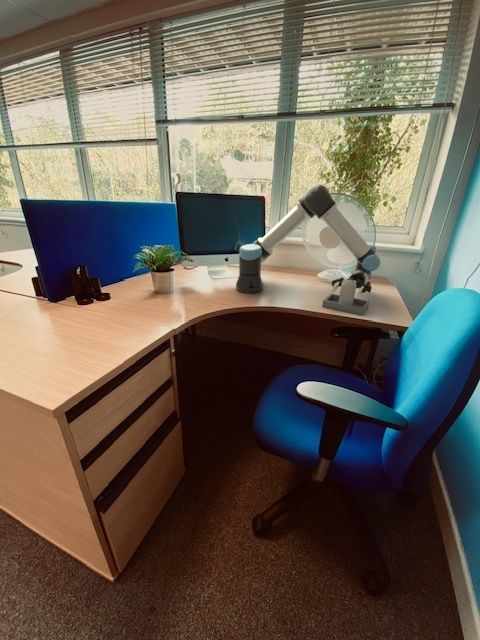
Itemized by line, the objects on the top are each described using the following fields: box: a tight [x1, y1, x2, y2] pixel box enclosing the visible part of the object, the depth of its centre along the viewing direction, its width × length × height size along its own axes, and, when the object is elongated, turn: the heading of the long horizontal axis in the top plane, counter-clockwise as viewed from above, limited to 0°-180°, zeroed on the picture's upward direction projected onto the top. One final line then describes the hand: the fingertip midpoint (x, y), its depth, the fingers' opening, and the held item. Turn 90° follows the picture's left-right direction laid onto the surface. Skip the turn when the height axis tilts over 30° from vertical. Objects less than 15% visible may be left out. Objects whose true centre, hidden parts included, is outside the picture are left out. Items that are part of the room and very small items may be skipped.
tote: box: [321, 293, 370, 317], centre depth 123 cm, size 18×12×3 cm, turn 55°
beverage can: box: [338, 280, 357, 306], centre depth 121 cm, size 6×6×12 cm
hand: (346, 290), depth 116 cm, fingers open, 10 cm apart
